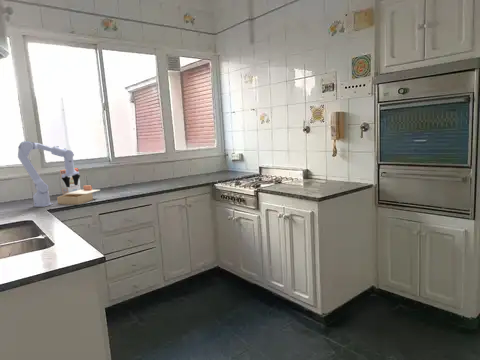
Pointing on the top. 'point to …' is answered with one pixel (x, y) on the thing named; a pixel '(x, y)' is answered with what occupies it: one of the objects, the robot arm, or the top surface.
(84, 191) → the lid
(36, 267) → the top surface
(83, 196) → the wooden drawer
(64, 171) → the cracker box
